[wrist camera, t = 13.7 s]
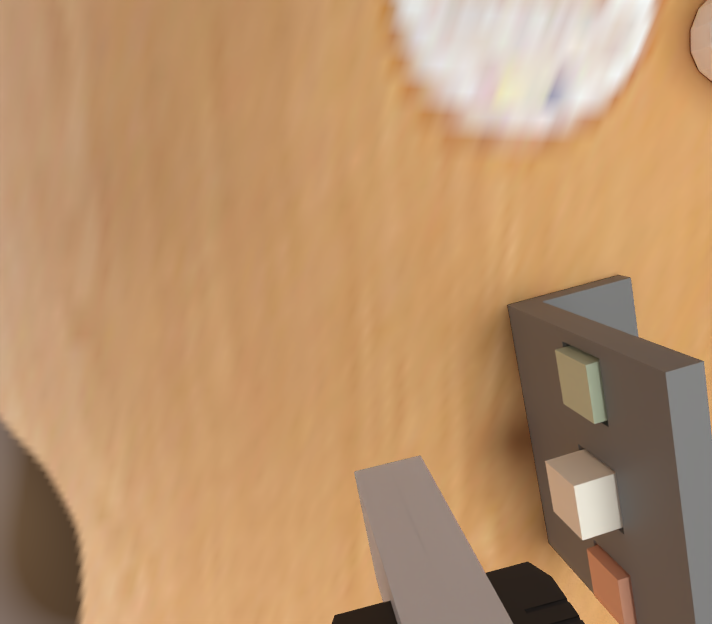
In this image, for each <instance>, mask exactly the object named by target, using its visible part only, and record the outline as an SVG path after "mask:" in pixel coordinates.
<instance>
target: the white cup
mask: <svg viewBox="0 0 712 624" xmlns="http://www.w3.org/2000/svg"><path fill="white" fill-rule="evenodd" d="M691 54H692V56H693V58H694V61H695V63H696V65H697V67H698V70H699V71H700V72H701V73H702V74H703V75H705V76H706V77H707V78H708V79H709V80H711V81H712V0H707V1H706V2H705V3H704V4H703V5H702V6H701V7H700V8H699V9H698V12H697V14H696V17H695V20H694V22H693V25H692V28H691Z"/></svg>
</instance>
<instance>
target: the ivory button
mask: <svg viewBox="0 0 712 624" xmlns="http://www.w3.org/2000/svg"><path fill="white" fill-rule="evenodd" d="M545 464H546V470H547V476H548V481H549V487H550V493H551V499H552V505H553V511H554V512H555V513H556V514H557V515H558V516H559V517H560V518H561V519H562V520H563V521H564V522H565V523H566V524H567V525H568V526H569V527H570V528H571V529H572V530H573V531H574V532H575V533H576V534H577V535H578V536H579V537H580V538H581V539H582V540H586V539H589V538H592V537H595V536H598V535H601V534H604V533H607V532H610V531H613V530H616V529H620V528H623V522H622V515H621V508H620V501H619V494H618V487H617V480H616V473H615V471H614V470H612V469H611V468H610V467H608V466H607V465H606V464H604V463H603V462H602V461H600V460H599V459H598V458H596V457H595V456H594V455H592V454H591V453H590V452H588V451H587V450H586V449H583V450H579V451H576V452H573V453H570V454H566V455H563V456H560V457H557V458H553V459H550V460H547V461H545Z"/></svg>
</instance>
